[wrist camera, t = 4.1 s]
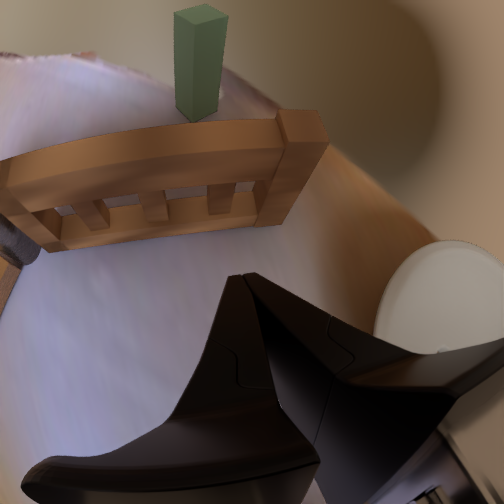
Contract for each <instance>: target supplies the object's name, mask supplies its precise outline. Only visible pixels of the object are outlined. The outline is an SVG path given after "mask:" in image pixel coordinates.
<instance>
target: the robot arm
mask: <svg viewBox="0 0 504 504" xmlns="http://www.w3.org/2000/svg"><path fill="white" fill-rule="evenodd" d="M278 400H279V401H278ZM279 402H280V403H279ZM280 404H281V406H282V408H281V406H280ZM313 478H315V480H316V482H317V484H318V486H319V488H320V490H321V492H322V494H323V496H324V499H325V501H326V503H327V504H504V338H501V339H498V340H495V341H491V342H487V343H483V344H479V345H475V346H470V347H466V348H461V349H456V350H451V351H446V352H440V353H435V354H418V353H414V352H411V351H408V350H405V349H403V348H401V347H398V346H396V345H393V344H391V343H389V342H386V341H384V340H382V339H379V338H377V337H375V336H372V335H370V334H368V333H366V332H363V331H361V330H359V329H357V328H355V327H353V326H351V325H349V324H347V323H345V322H343V321H341V320H340V319H338V318H336V317H334V316H332V317H331V315H330V314H328V313H327V312H325V311H323V310H321V309H319V308H318V307H316V306H314V305H312V304H311V303H309V302H307V301H305V300H303V299H302V298H300V297H298V296H296V295H294V294H293V293H291V292H289V291H287V290H286V289H284V288H282V287H280V286H278V285H277V284H275V283H273V282H271V281H270V280H268V279H266V278H264V277H263V276H261V275H259V274H257V273H255V272H253V273H246V274H243V275H240V274H239V275H232V276H228V278H227V281H226V284H225V287H224V290H223V293H222V296H221V299H220V302H219V305H218V308H217V311H216V314H215V317H214V321H213V324H212V327H211V330H210V333H209V336H208V340H207V342H206V345H205V348H204V351H203V353H202V356H201V358H200V361H199V363H198V365H197V367H196V369H195V371H194V374H193V375H192V377H191V379H190V381H189V383H188V385H187V387H186V388H185V390H184V392H183V394H182V396H181V398H180V400H179V401H178V403H177V405H176V407H175V409H174V410H173V412H172V414H171V415H170V417H169V418H168V419H167V420H166V421H165V422H164V423H163V424H162V425H160V426H158V427H157V428H155V429H153V430H151V431H150V432H148V433H146V434H144V435H142V436H141V437H139V438H137V439H135V440H133V441H131V442H130V443H128V444H126V445H124V446H122V447H120V448H118V449H116V450H114V451H112V452H109V453H106V454H102V455H98V456H90V457H76V456H51V457H48V458H46V459H44V460H43V461H41V462H39V463H38V464H36V465H35V466H34V467H32V468H31V469H30V470H29V471H28V472H27V474H26V475H25V476H24V478H23V480H22V483H21V489H22V491H23V492H24V493H25V494H26V495H27V496H28V497H29V498H31V499H32V500H34V501H35V502H37V503H39V504H301V503H302V501H303V499H304V497H305V495H306V493H307V491H308V489H309V487H310V485H311V483H312V481H313Z"/></svg>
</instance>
